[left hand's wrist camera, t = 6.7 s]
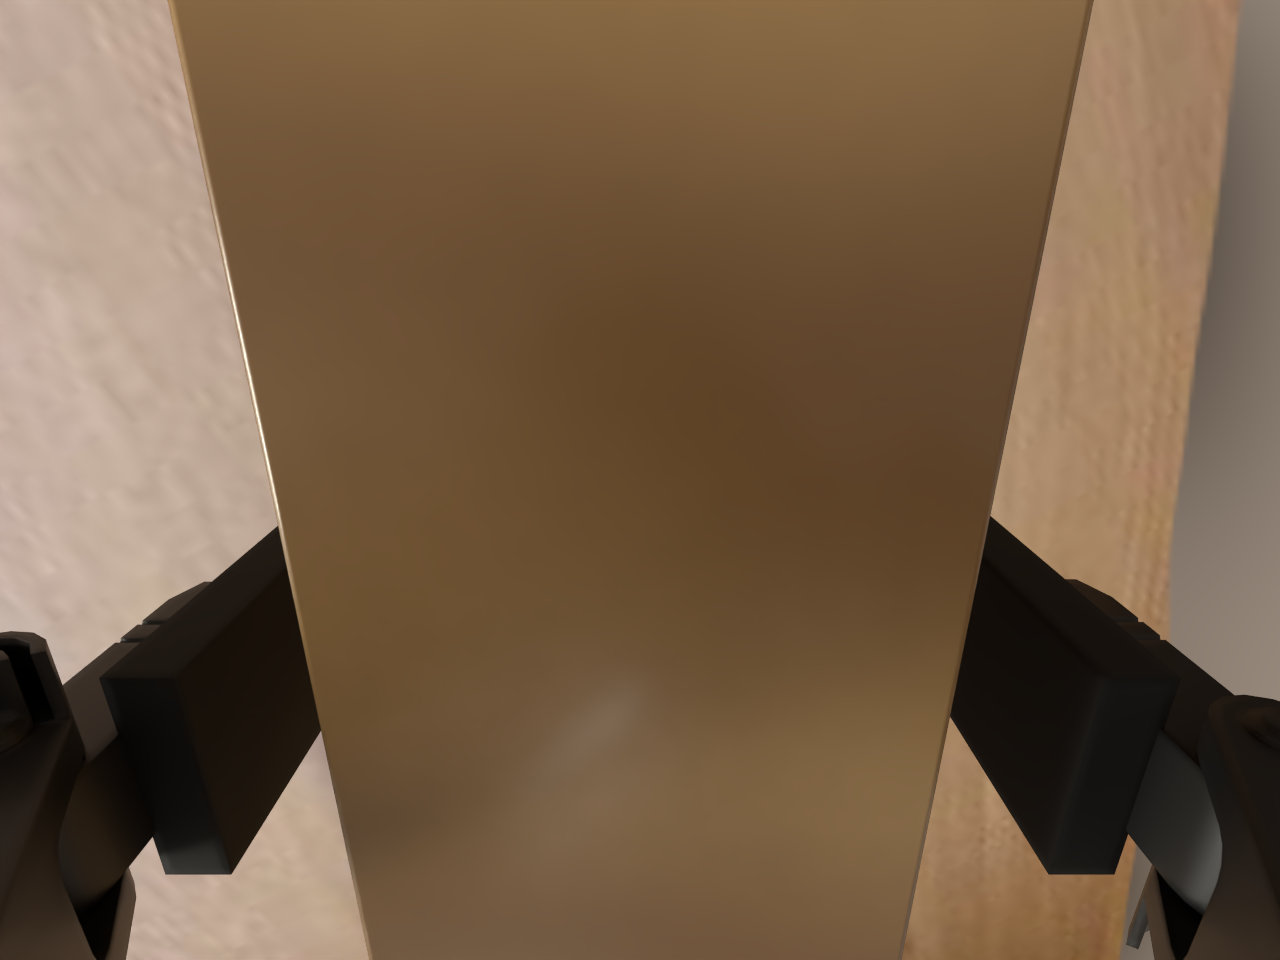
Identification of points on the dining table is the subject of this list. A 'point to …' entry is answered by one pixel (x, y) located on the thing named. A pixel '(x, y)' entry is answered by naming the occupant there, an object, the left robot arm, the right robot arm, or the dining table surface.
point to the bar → (632, 436)
